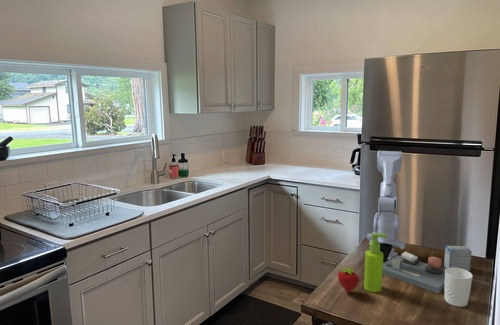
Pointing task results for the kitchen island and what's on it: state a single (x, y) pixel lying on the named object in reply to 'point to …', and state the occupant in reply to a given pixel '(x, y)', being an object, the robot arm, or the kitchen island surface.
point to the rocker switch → (409, 257)
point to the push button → (434, 262)
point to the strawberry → (348, 279)
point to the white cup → (457, 286)
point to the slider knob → (397, 263)
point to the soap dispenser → (374, 265)
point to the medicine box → (457, 257)
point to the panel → (417, 274)
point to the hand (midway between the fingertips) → (384, 261)
